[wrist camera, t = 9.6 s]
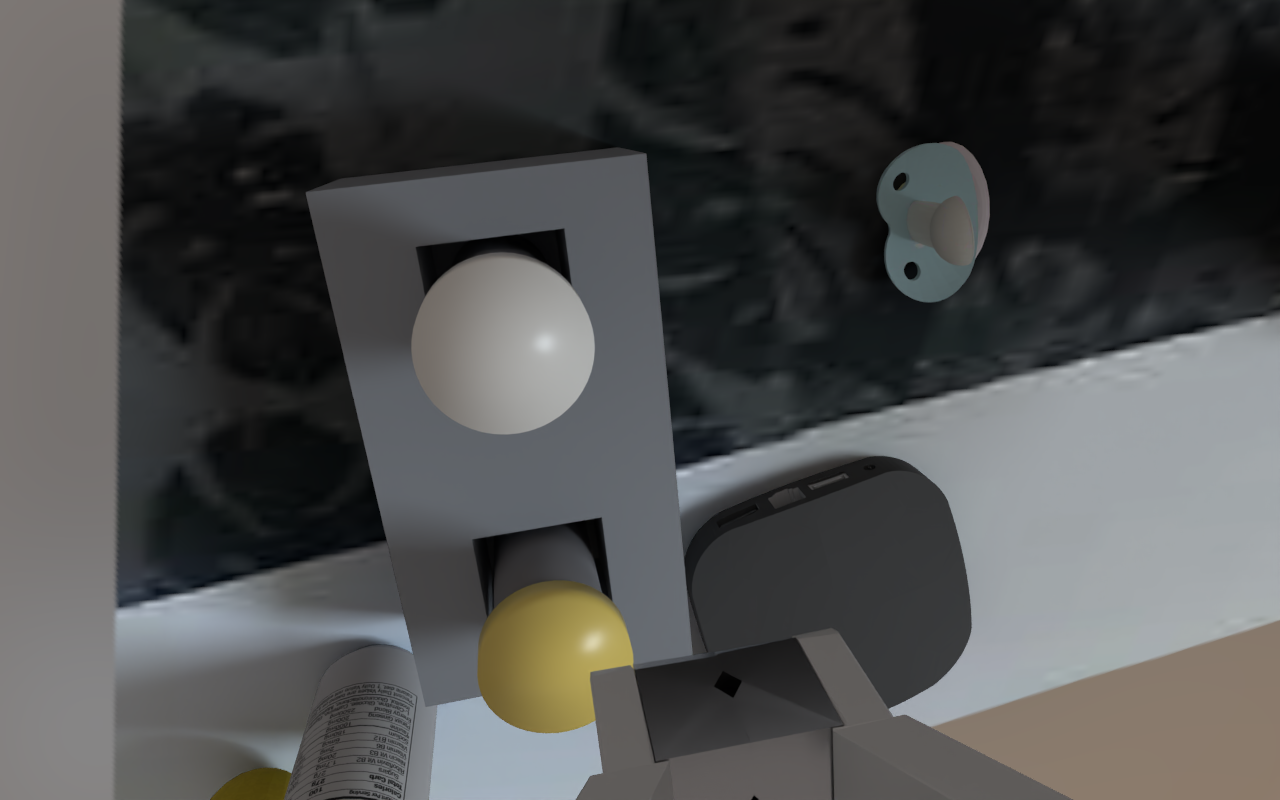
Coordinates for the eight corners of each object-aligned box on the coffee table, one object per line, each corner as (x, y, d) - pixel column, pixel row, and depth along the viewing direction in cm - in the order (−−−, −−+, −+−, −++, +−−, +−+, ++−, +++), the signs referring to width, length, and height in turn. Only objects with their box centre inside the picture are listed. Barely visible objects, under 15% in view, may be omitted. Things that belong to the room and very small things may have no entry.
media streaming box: (733, 730, 48) (748, 768, 46) (663, 526, 43) (675, 554, 40) (959, 643, 49) (987, 675, 46) (917, 432, 44) (947, 454, 41)
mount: (618, 147, 36) (646, 153, 30) (662, 574, 44) (692, 654, 37) (340, 178, 35) (305, 192, 28) (435, 616, 42) (425, 707, 36)
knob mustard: (589, 461, 39) (624, 588, 29) (602, 562, 41) (640, 716, 31) (471, 480, 39) (464, 617, 28) (491, 582, 41) (491, 746, 30)
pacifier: (973, 121, 39) (858, 154, 38) (1063, 120, 33) (929, 159, 32) (987, 269, 41) (879, 302, 41) (1073, 291, 36) (948, 331, 35)
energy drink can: (322, 734, 43) (242, 1028, 29) (317, 637, 41) (229, 902, 27) (439, 728, 44) (416, 1008, 30) (439, 633, 42) (414, 885, 29)
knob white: (555, 209, 35) (583, 248, 25) (571, 334, 37) (604, 420, 27) (424, 225, 35) (394, 272, 24) (447, 351, 36) (430, 447, 26)
